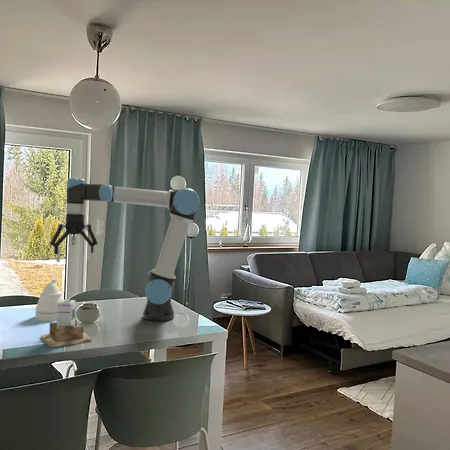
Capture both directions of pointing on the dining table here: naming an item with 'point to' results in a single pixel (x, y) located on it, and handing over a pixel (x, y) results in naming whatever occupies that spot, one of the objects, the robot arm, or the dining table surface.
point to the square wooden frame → (65, 335)
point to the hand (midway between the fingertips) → (73, 260)
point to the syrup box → (65, 313)
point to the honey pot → (48, 302)
